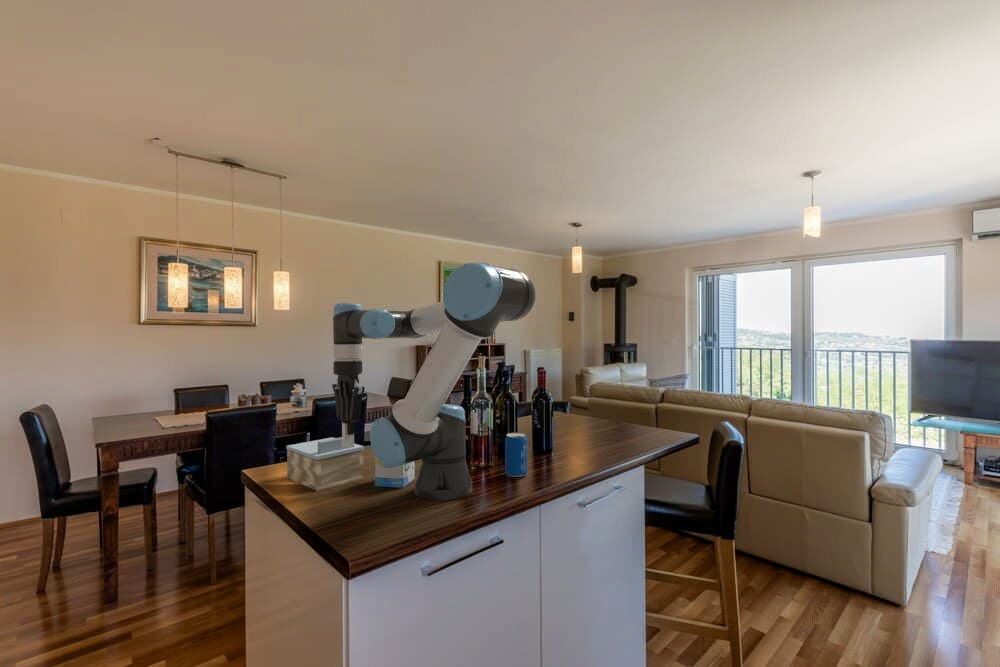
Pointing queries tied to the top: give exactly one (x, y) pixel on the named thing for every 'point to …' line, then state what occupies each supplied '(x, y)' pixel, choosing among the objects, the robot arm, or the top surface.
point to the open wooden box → (325, 469)
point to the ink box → (393, 475)
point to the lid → (323, 448)
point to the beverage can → (516, 454)
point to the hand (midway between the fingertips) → (348, 446)
